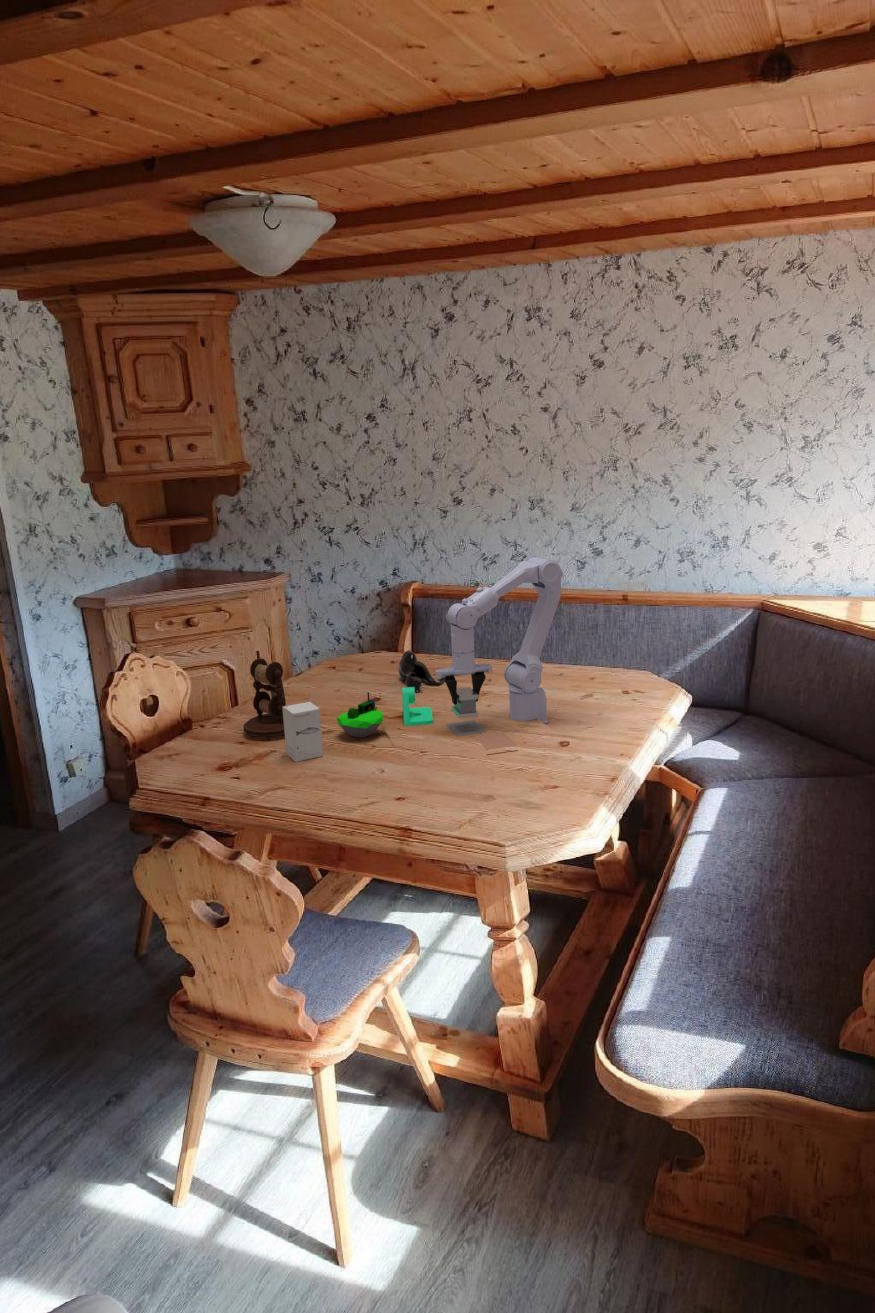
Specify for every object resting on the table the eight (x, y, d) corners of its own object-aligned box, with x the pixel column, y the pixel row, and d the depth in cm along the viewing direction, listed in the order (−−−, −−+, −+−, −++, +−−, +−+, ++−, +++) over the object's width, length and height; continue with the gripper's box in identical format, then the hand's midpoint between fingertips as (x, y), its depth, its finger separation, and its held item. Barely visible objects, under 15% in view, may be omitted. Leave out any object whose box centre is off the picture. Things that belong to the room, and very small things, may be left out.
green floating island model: (359, 726, 250) (356, 687, 247) (393, 732, 243) (390, 692, 241) (329, 739, 241) (325, 698, 238) (363, 746, 234) (360, 704, 231)
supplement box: (295, 763, 225) (291, 713, 222) (285, 753, 231) (281, 705, 228) (324, 756, 228) (320, 708, 225) (313, 748, 234) (309, 700, 231)
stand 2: (504, 738, 235) (504, 732, 235) (517, 750, 226) (517, 745, 226) (474, 742, 233) (474, 736, 233) (486, 755, 224) (486, 749, 224)
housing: (470, 709, 243) (470, 687, 241) (478, 716, 236) (478, 694, 235) (451, 710, 241) (451, 688, 240) (459, 718, 235) (459, 696, 233)
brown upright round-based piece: (311, 730, 248) (305, 658, 243) (266, 745, 238) (259, 670, 233) (277, 719, 258) (271, 650, 253) (233, 734, 248) (225, 662, 242)
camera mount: (433, 730, 244) (432, 692, 242) (404, 731, 244) (402, 694, 241) (430, 715, 256) (429, 680, 253) (403, 717, 256) (401, 681, 253)
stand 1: (474, 725, 246) (474, 720, 245) (486, 737, 236) (486, 732, 236) (446, 729, 244) (445, 724, 243) (456, 741, 234) (456, 736, 234)
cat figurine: (435, 682, 297) (446, 708, 281) (393, 674, 293) (402, 700, 277) (443, 655, 293) (455, 679, 277) (402, 646, 289) (412, 671, 273)
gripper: (485, 644, 240) (487, 694, 243) (431, 650, 236) (433, 701, 240) (494, 650, 233) (495, 701, 237) (438, 657, 230) (441, 708, 233)
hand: (465, 702), depth 238 cm, fingers closed on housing, 5 cm apart
